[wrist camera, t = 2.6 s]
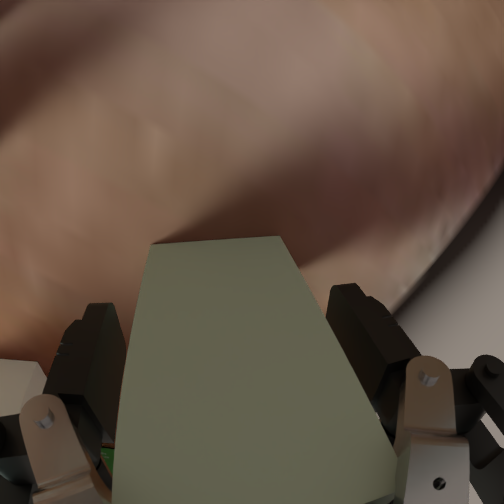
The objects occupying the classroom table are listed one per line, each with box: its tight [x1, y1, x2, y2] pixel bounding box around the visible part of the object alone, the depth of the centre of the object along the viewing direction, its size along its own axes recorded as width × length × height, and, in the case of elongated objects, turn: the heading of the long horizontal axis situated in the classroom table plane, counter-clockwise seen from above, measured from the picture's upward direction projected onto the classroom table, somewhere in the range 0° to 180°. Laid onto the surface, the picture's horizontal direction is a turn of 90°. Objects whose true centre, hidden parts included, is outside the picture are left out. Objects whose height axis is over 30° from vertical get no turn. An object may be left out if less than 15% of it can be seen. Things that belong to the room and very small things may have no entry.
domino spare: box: [111, 236, 398, 504], centre depth 8 cm, size 2×5×10 cm, turn 90°
